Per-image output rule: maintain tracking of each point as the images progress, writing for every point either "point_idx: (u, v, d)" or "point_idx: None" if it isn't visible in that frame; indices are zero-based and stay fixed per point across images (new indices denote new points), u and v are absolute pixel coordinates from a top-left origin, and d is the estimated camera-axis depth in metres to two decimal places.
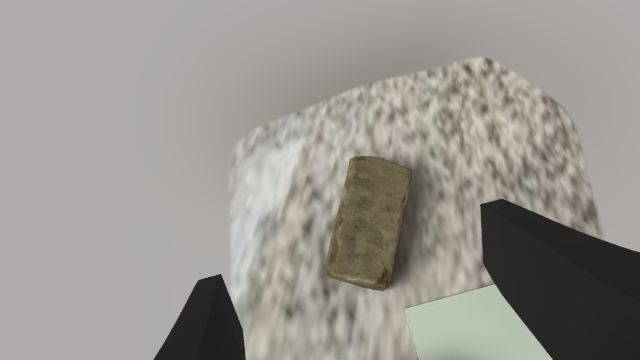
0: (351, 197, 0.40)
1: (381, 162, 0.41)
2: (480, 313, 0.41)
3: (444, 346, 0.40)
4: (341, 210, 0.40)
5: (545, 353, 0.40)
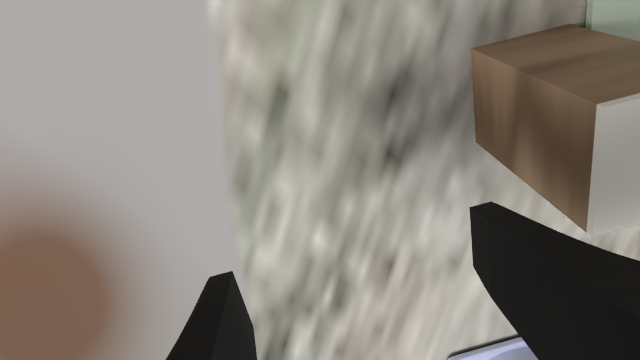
0: None
1: None
2: None
3: None
4: None
5: None
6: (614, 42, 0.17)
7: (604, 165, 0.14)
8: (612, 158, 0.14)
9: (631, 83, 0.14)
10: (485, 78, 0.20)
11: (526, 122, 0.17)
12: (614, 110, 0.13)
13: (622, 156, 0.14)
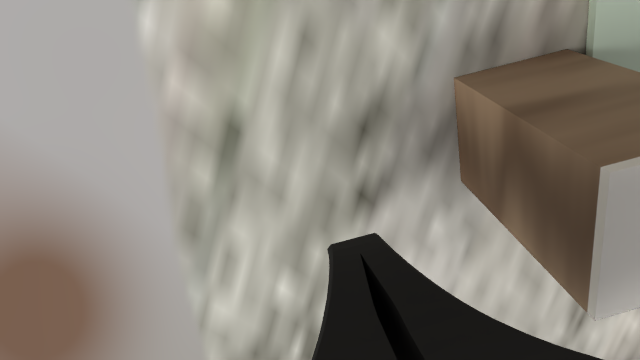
0: None
1: None
2: None
3: None
4: None
5: None
6: (620, 75, 0.15)
7: (609, 239, 0.11)
8: (620, 231, 0.11)
9: None
10: (470, 113, 0.17)
11: (516, 171, 0.15)
12: (622, 175, 0.10)
13: (632, 229, 0.11)
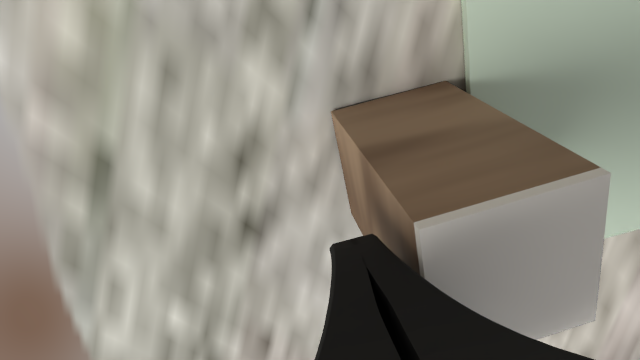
0: None
1: None
2: None
3: (531, 38, 0.17)
4: None
5: None
6: (479, 113, 0.14)
7: None
8: (443, 285, 0.11)
9: (466, 187, 0.11)
10: (344, 148, 0.17)
11: (375, 212, 0.14)
12: (434, 231, 0.10)
13: (456, 282, 0.11)
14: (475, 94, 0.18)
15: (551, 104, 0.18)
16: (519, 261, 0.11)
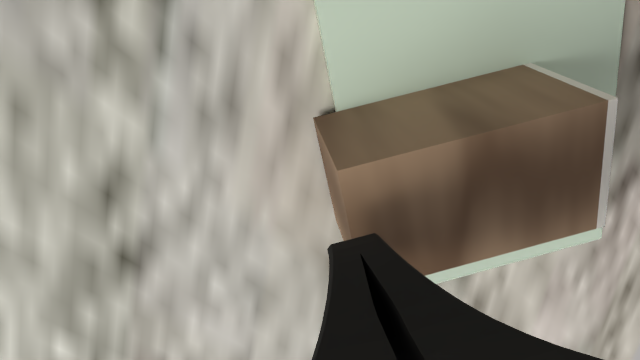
0: None
1: None
2: None
3: (397, 70, 0.17)
4: None
5: (601, 86, 0.18)
6: (412, 98, 0.17)
7: None
8: None
9: (550, 90, 0.15)
10: (384, 190, 0.14)
11: (490, 189, 0.14)
12: None
13: None
14: None
15: None
16: None
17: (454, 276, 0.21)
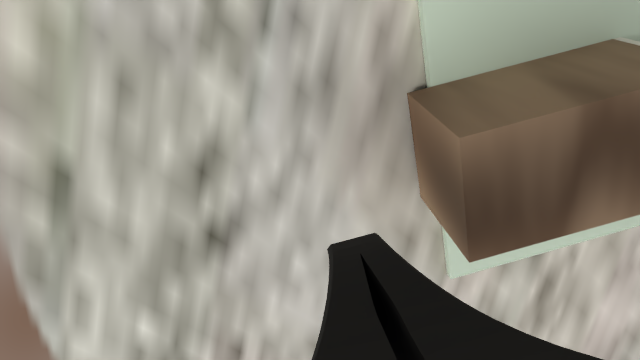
0: None
1: None
2: None
3: (491, 45, 0.17)
4: None
5: None
6: (507, 72, 0.17)
7: None
8: None
9: None
10: (502, 158, 0.14)
11: (602, 157, 0.14)
12: None
13: None
14: None
15: None
16: None
17: (529, 254, 0.22)
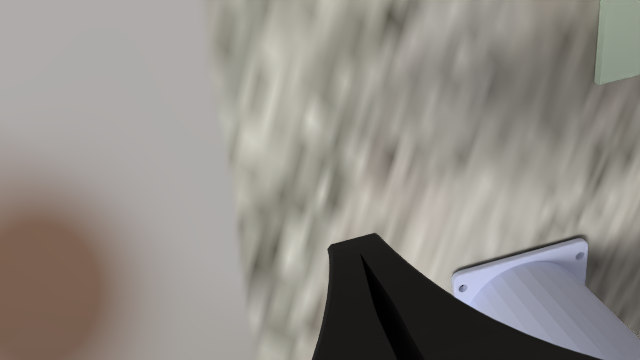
0: None
1: None
2: None
3: None
4: None
5: None
6: None
7: None
8: None
9: None
10: None
11: None
12: None
13: None
14: None
15: None
16: None
17: None
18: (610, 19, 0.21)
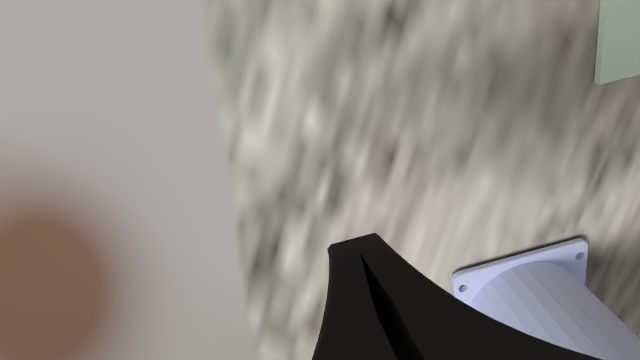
0: None
1: None
2: None
3: None
4: None
5: None
6: None
7: None
8: None
9: None
10: None
11: None
12: None
13: None
14: None
15: None
16: None
17: None
18: (610, 19, 0.21)
